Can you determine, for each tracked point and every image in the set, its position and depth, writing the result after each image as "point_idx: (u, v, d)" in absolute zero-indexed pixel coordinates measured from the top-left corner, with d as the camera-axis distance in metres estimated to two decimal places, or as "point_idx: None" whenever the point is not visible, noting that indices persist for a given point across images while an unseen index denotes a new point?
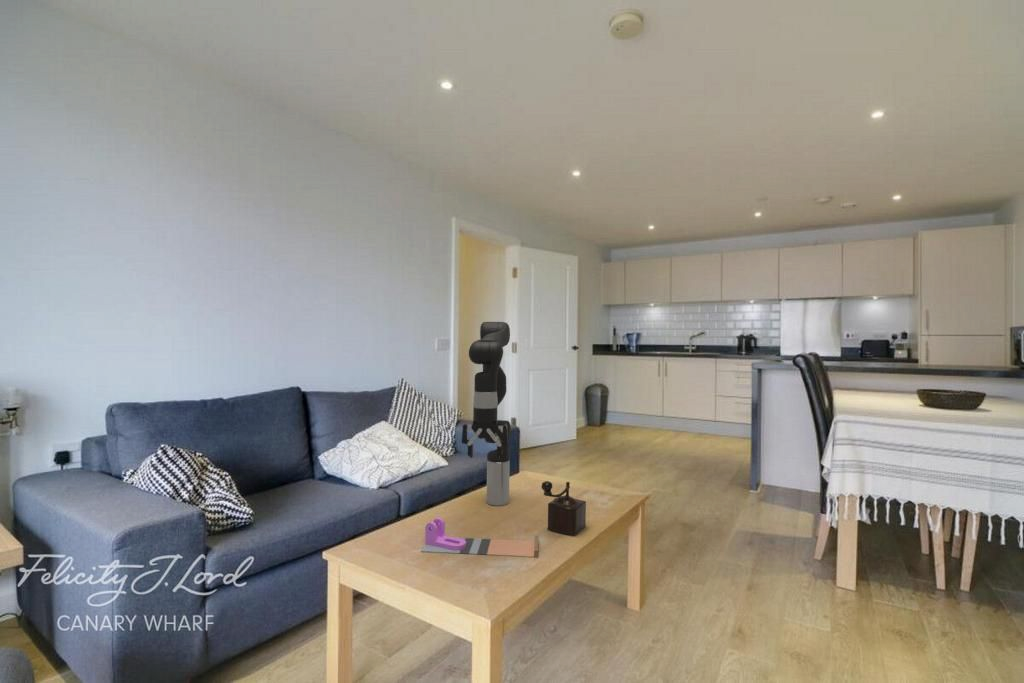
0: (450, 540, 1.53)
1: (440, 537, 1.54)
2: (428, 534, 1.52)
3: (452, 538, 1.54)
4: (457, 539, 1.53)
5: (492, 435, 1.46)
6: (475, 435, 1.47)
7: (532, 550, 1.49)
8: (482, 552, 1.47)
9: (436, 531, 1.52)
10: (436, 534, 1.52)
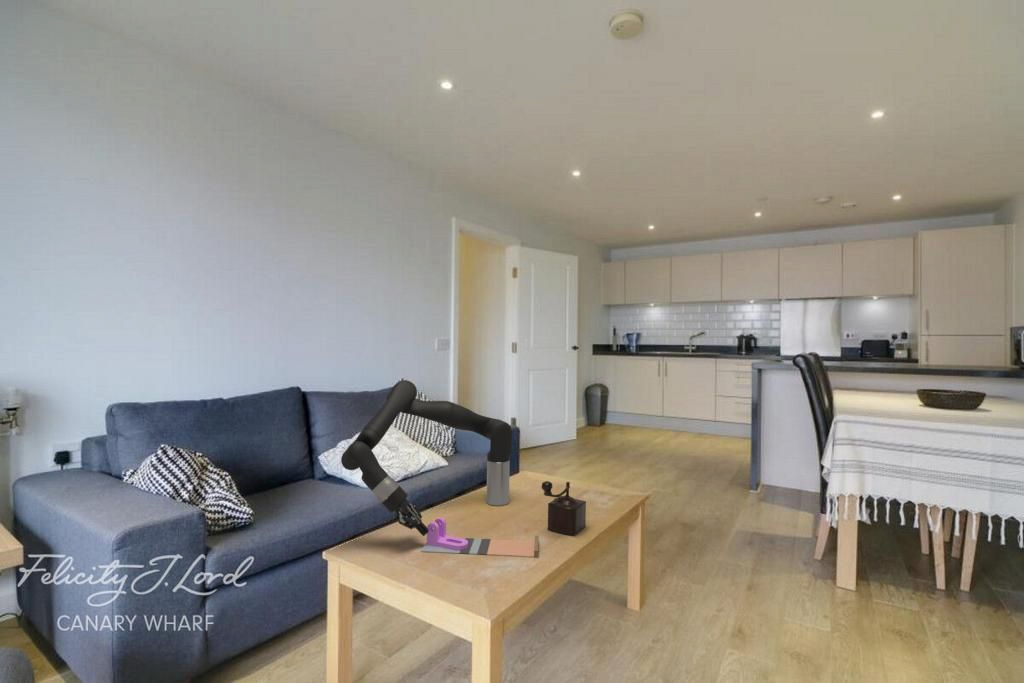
0: (452, 540, 1.53)
1: (442, 537, 1.54)
2: (430, 535, 1.52)
3: (454, 538, 1.54)
4: (459, 539, 1.53)
5: (414, 509, 1.53)
6: (412, 513, 1.51)
7: (532, 550, 1.49)
8: (482, 552, 1.47)
9: (438, 532, 1.52)
10: (438, 534, 1.52)
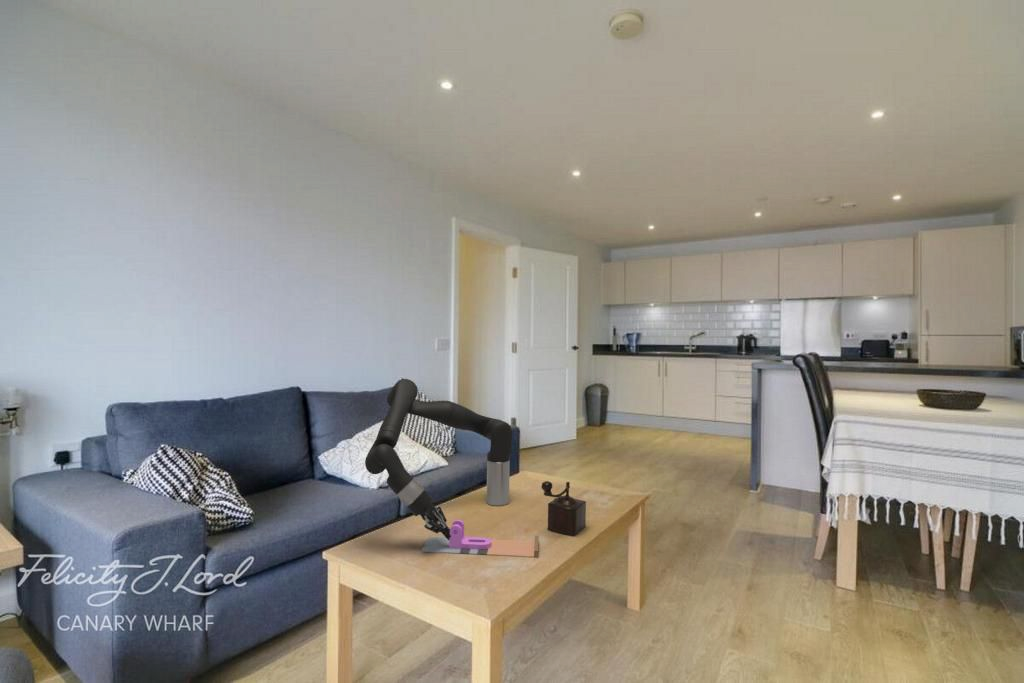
0: (473, 541, 1.53)
1: (462, 539, 1.53)
2: (453, 538, 1.50)
3: (475, 538, 1.54)
4: (480, 538, 1.54)
5: (439, 513, 1.52)
6: (438, 517, 1.50)
7: (532, 550, 1.49)
8: (482, 552, 1.47)
9: (461, 533, 1.50)
10: (461, 536, 1.50)
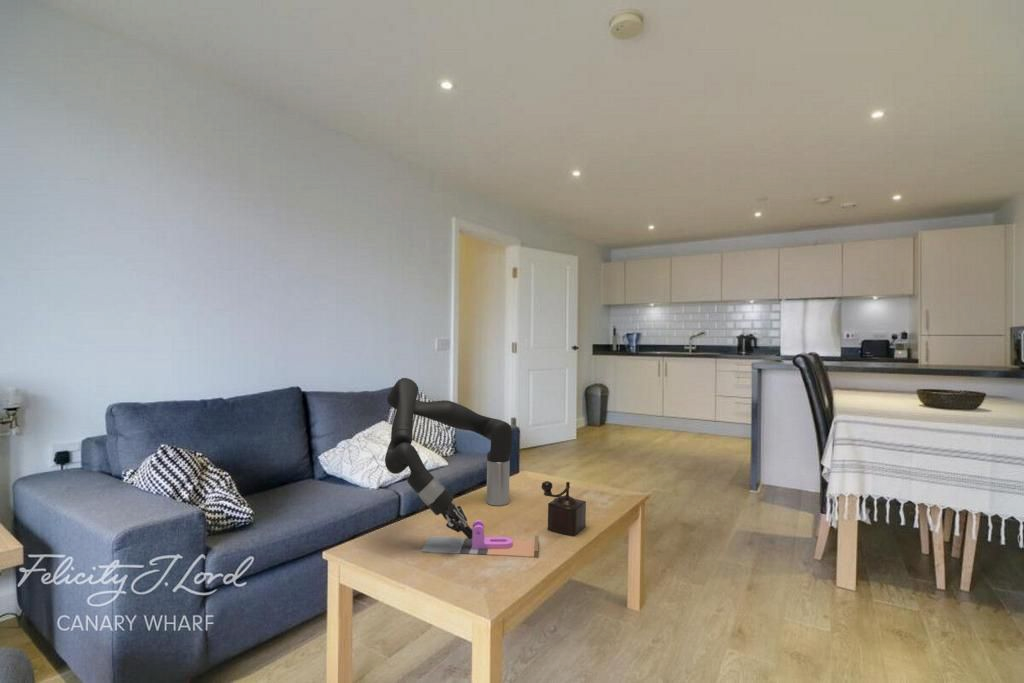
0: (494, 540, 1.53)
1: None
2: (476, 538, 1.49)
3: (495, 538, 1.54)
4: (500, 538, 1.54)
5: (459, 512, 1.52)
6: (459, 516, 1.50)
7: (532, 550, 1.49)
8: (482, 552, 1.47)
9: None
10: None
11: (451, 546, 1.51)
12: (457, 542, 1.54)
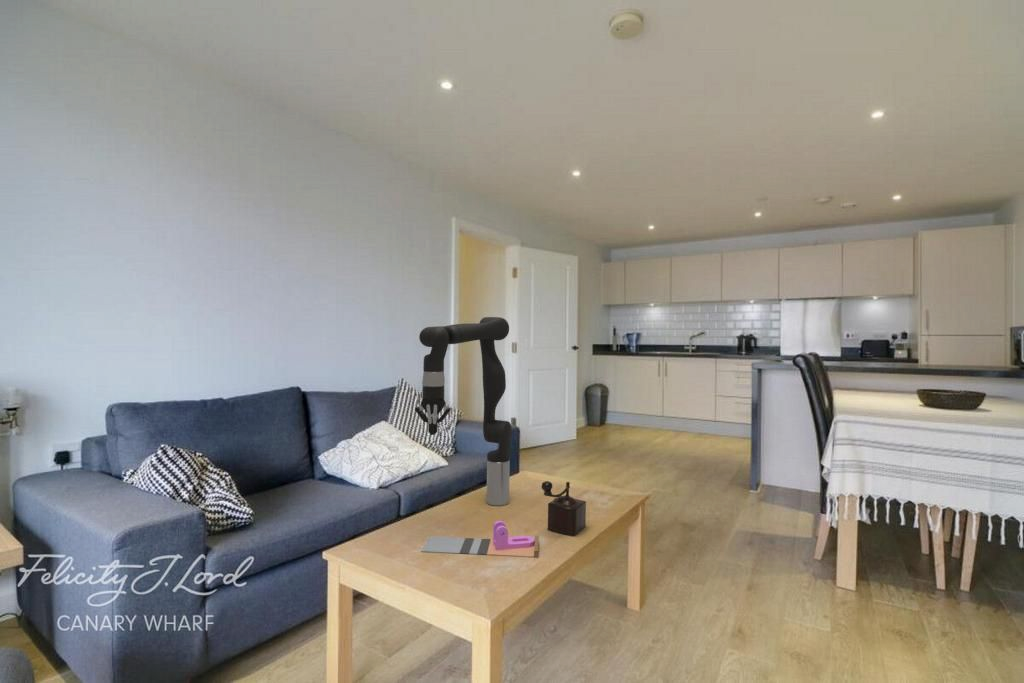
0: (516, 540, 1.54)
1: None
2: (500, 539, 1.49)
3: (516, 537, 1.55)
4: (521, 537, 1.55)
5: (435, 412, 1.63)
6: (428, 412, 1.63)
7: (532, 550, 1.49)
8: (482, 552, 1.47)
9: None
10: None
11: (451, 546, 1.51)
12: (457, 542, 1.54)
